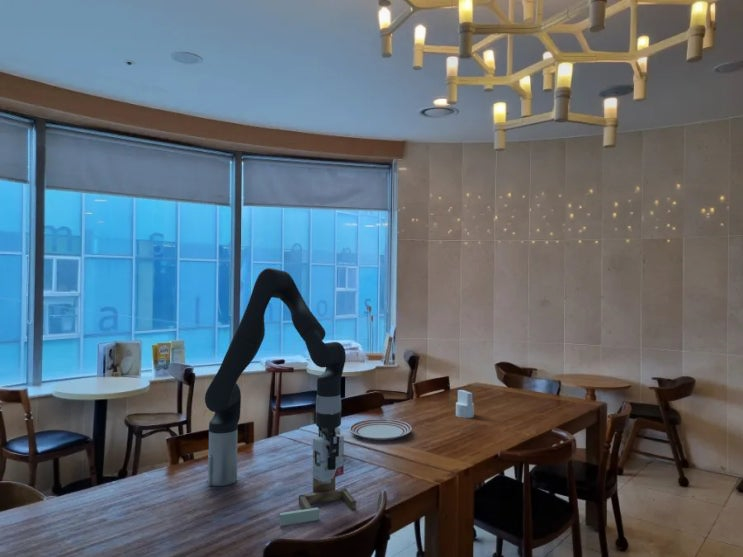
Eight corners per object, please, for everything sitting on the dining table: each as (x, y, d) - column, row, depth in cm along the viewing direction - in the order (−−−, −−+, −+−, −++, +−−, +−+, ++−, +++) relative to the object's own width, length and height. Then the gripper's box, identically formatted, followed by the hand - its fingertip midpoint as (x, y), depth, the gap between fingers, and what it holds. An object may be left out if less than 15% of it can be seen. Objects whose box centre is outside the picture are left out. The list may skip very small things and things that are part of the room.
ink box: (333, 470, 159) (333, 432, 159) (345, 474, 155) (344, 435, 155) (311, 478, 153) (311, 438, 153) (322, 482, 149) (322, 441, 149)
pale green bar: (280, 526, 142) (280, 515, 142) (279, 524, 143) (279, 513, 143) (319, 519, 146) (319, 509, 146) (317, 517, 147) (318, 507, 147)
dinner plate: (387, 448, 209) (387, 440, 209) (336, 435, 225) (336, 428, 225) (423, 433, 230) (423, 425, 230) (374, 422, 247) (374, 415, 247)
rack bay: (306, 516, 147) (306, 488, 147) (296, 500, 159) (297, 474, 159) (355, 509, 153) (356, 482, 153) (343, 493, 164) (343, 468, 164)
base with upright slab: (452, 414, 263) (452, 390, 263) (466, 412, 266) (467, 389, 266) (462, 418, 254) (462, 394, 254) (477, 416, 258) (477, 392, 258)
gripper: (310, 405, 159) (310, 459, 159) (323, 416, 146) (322, 475, 146) (333, 403, 162) (333, 456, 162) (348, 414, 149) (347, 472, 149)
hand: (328, 465), depth 154 cm, fingers closed on ink box, 6 cm apart
